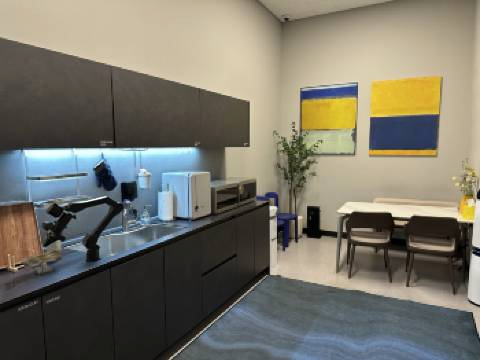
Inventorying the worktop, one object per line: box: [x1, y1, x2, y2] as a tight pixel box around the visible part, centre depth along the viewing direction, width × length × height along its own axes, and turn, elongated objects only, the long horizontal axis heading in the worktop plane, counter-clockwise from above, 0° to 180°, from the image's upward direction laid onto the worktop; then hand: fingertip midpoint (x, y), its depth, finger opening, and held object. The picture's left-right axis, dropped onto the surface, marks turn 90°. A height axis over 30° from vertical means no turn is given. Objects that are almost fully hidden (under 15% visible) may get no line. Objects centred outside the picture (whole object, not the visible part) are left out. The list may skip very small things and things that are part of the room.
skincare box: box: [45, 237, 62, 262], centre depth 202 cm, size 8×6×15 cm
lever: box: [21, 247, 63, 269], centre depth 183 cm, size 18×7×6 cm, turn 127°
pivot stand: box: [35, 261, 54, 275], centre depth 183 cm, size 7×11×6 cm, turn 37°
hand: (44, 246), depth 182 cm, fingers closed
